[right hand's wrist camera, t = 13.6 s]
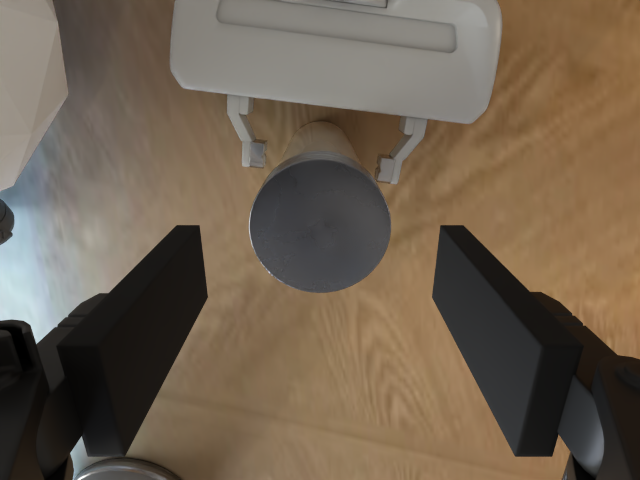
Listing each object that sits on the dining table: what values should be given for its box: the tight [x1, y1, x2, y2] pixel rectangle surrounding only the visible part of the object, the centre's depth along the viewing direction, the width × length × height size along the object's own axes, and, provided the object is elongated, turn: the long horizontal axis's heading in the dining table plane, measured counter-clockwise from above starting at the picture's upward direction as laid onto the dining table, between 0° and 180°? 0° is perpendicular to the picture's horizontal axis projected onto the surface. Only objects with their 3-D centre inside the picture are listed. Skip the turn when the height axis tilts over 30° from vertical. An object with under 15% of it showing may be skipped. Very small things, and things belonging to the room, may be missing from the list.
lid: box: [249, 151, 391, 293], centre depth 18 cm, size 6×6×2 cm
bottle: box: [278, 121, 362, 165], centre depth 26 cm, size 6×6×19 cm
